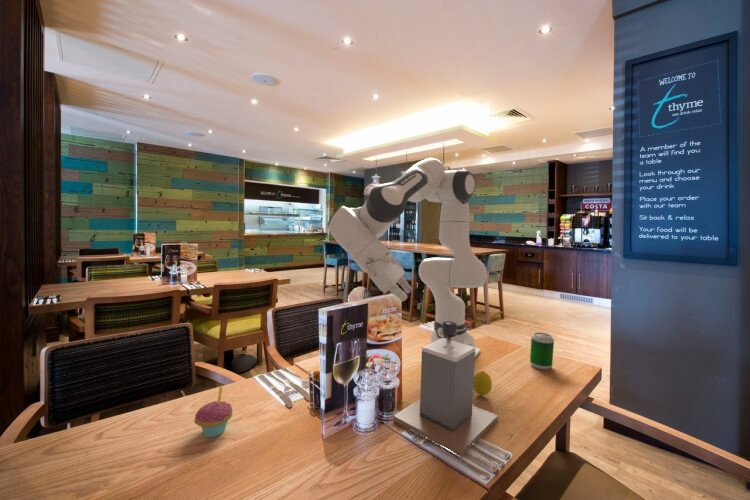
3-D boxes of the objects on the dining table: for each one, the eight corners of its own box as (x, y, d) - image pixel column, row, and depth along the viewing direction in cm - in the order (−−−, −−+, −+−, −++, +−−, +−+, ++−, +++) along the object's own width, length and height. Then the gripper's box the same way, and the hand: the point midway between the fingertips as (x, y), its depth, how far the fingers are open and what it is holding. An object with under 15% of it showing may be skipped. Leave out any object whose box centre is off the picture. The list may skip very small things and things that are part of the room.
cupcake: (225, 417, 91) (224, 374, 90) (238, 432, 85) (237, 386, 84) (190, 431, 85) (188, 385, 84) (202, 447, 79) (200, 398, 78)
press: (434, 393, 106) (437, 329, 104) (497, 420, 92) (501, 347, 90) (393, 421, 91) (395, 346, 89) (460, 457, 78) (464, 371, 76)
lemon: (492, 402, 102) (493, 376, 101) (472, 399, 103) (474, 374, 102) (489, 392, 107) (491, 368, 106) (471, 390, 108) (472, 366, 107)
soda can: (556, 371, 123) (558, 339, 122) (535, 370, 123) (537, 338, 122) (545, 362, 131) (548, 331, 129) (526, 361, 131) (528, 331, 130)
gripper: (372, 253, 81) (412, 296, 80) (388, 246, 101) (420, 280, 100) (354, 270, 83) (392, 313, 81) (373, 260, 103) (404, 294, 101)
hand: (408, 295), depth 91 cm, fingers open, 8 cm apart
